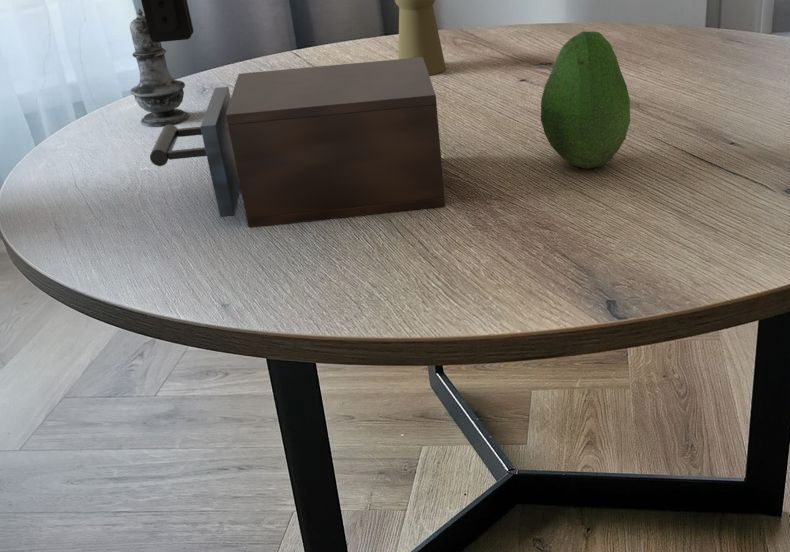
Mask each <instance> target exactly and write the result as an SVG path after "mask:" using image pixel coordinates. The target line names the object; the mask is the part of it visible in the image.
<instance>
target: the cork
mask: <svg viewBox="0 0 790 552" xmlns="http://www.w3.org/2000/svg"><path fill="white" fill-rule="evenodd" d="M394 2H395V4H396V6H397V7H398V8H399V9H398V10H399V11H398V12H399V13H398V56H397V59H407V58H418V57H423V59H424V62H425V65H426V68H427V71H428V74H429V77H431V76H434V75H438V74H442V73H443V72H445V71H446V70H447V67H446V62H445V57H444V53H443V52H444V51H443V47H442V43H441V38H440V34H439V29H438V24H437V19H436V13H435V9H434V4H435V2H436V0H394Z"/></svg>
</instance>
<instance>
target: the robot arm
mask: <svg viewBox="0 0 790 552" xmlns="http://www.w3.org/2000/svg"><path fill="white" fill-rule="evenodd" d="M140 1H141V5H142V8H143V15H144V16H145V18H146V23H147V27H148V31H149V35H150V39H151V40H152V41H153V42H161V43H165V42H166V43H167V42H175V41H185V40H189V39H191V37H192V35H193V34H194V27H193V22H192V16H191V13H190V9H189V3H188V0H140Z"/></svg>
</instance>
